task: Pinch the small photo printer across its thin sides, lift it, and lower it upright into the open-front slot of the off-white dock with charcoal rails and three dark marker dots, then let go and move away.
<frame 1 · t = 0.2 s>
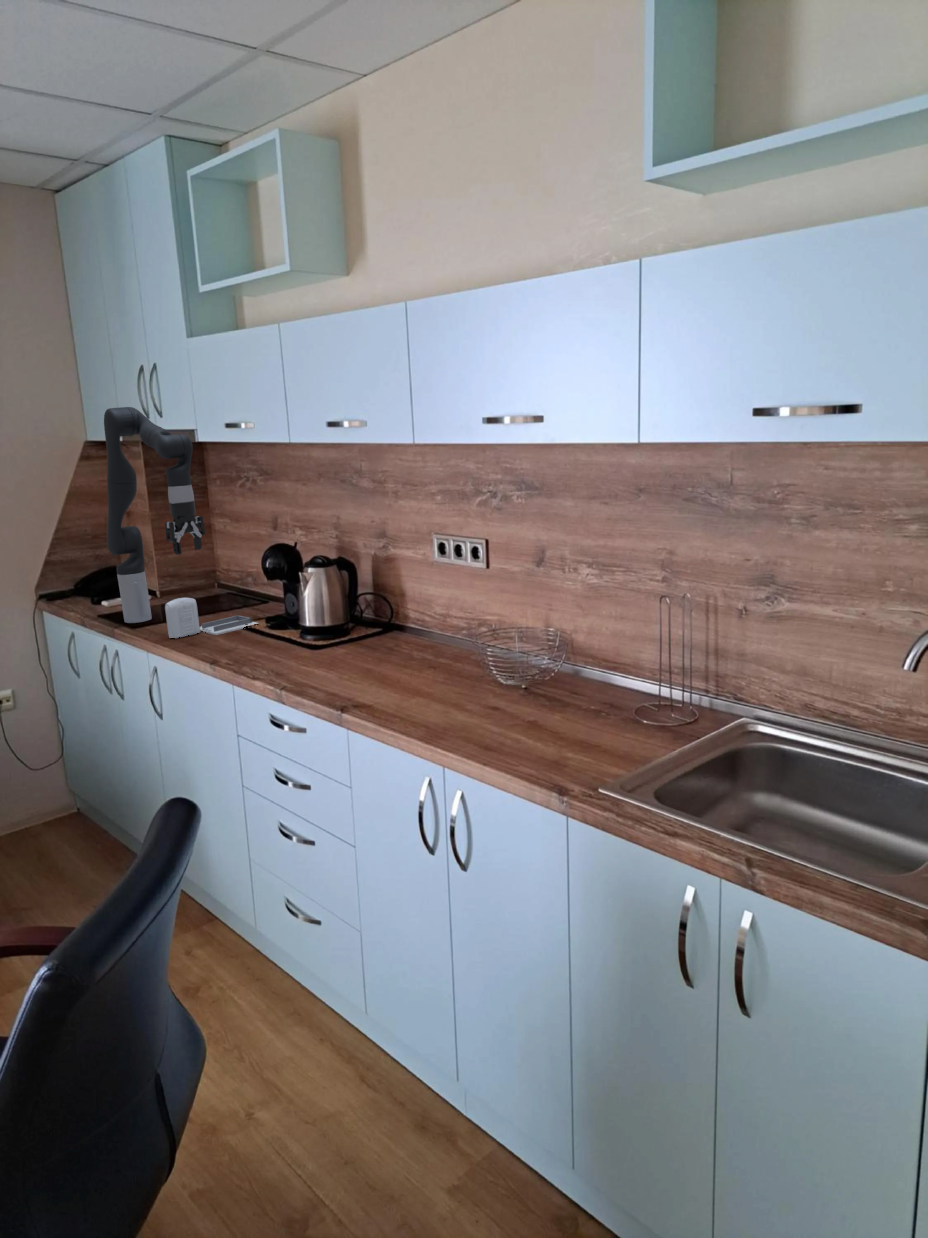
hand: (188, 551, 282), 27 cm above the worktop, tool pointing down, fingers open, 8 cm apart
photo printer: (185, 636, 290), on the worktop
dock: (226, 627, 298), on the worktop
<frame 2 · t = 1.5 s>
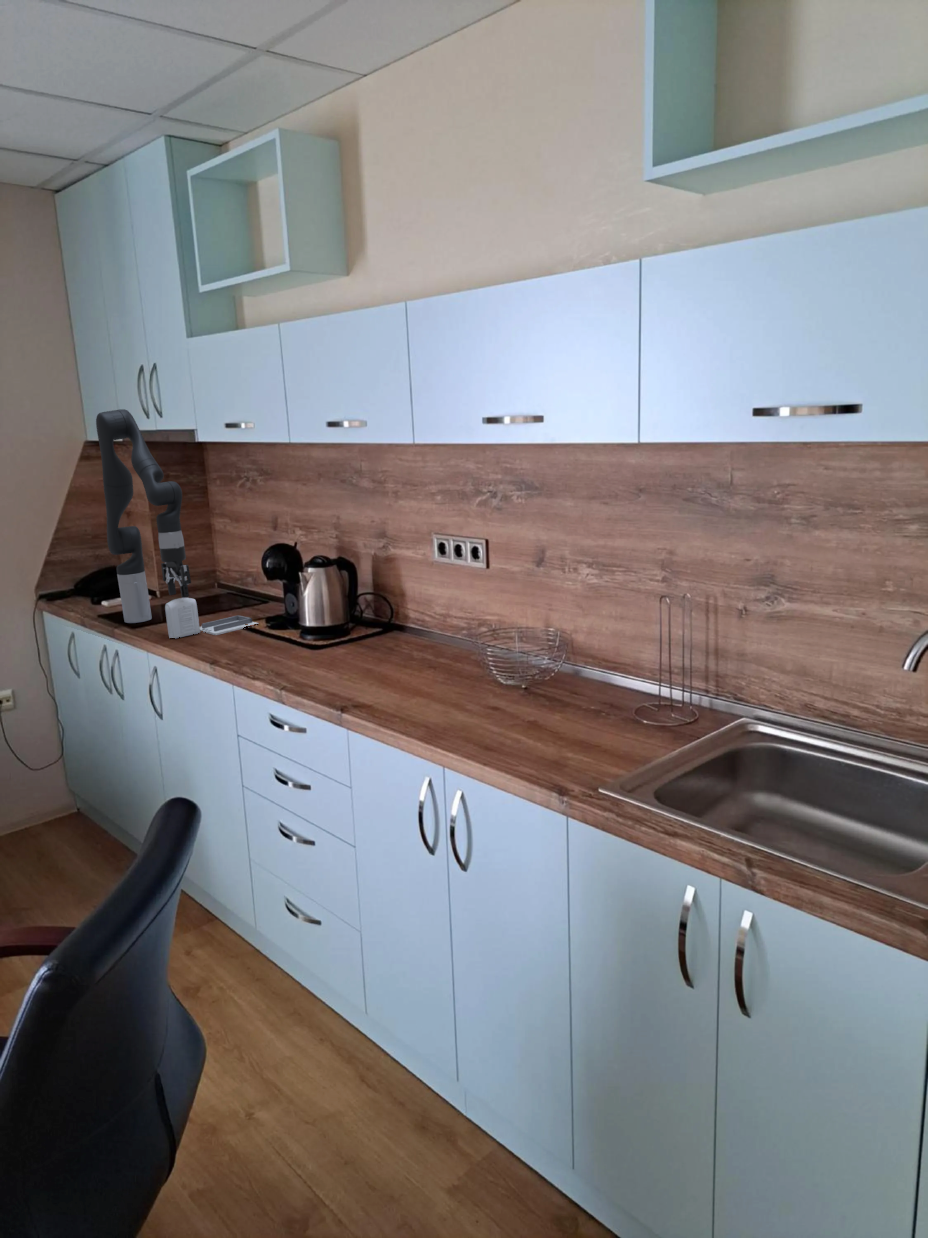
hand: (179, 596, 287), 13 cm above the worktop, tool pointing down, fingers open, 8 cm apart
nothing on the worktop moved.
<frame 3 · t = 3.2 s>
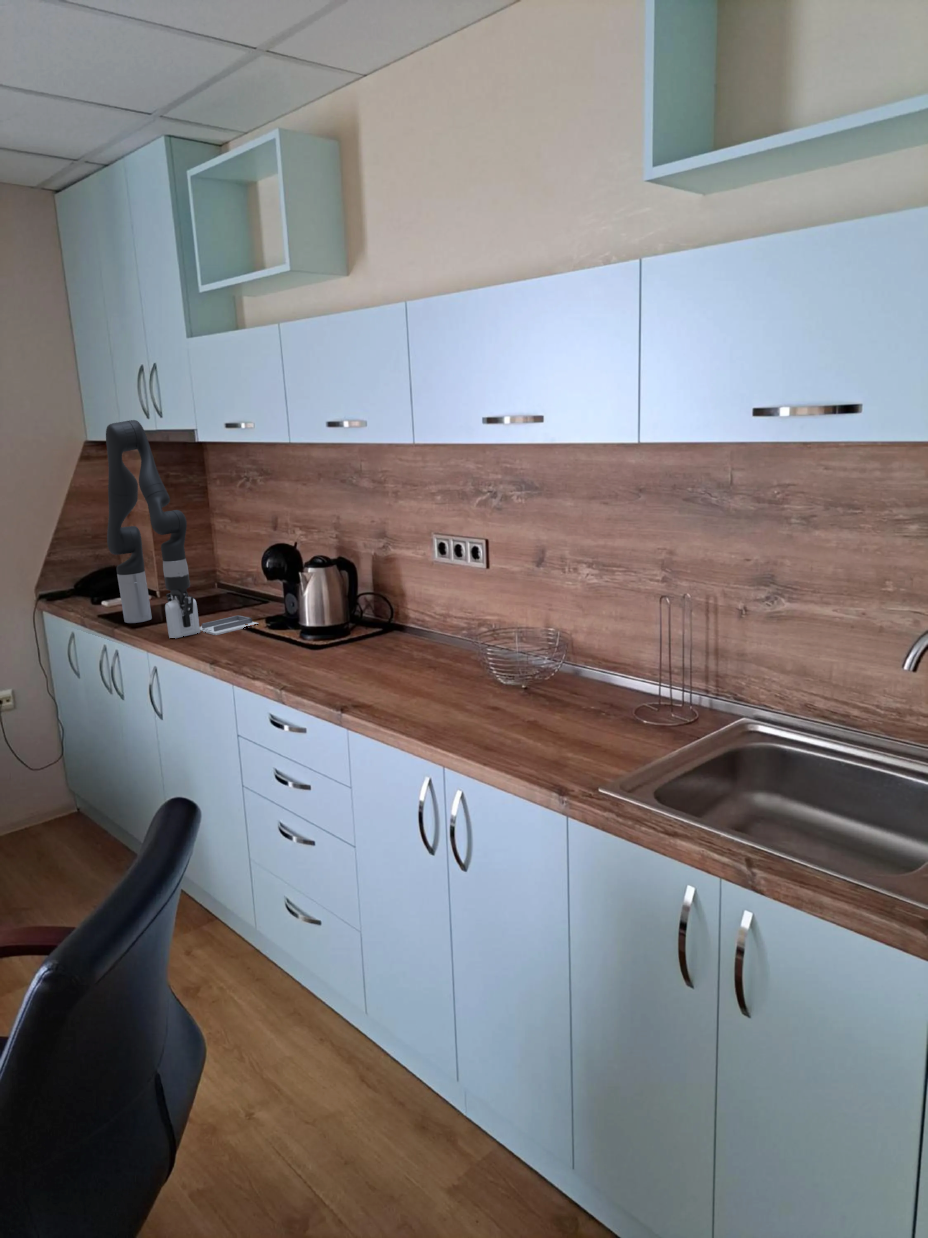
hand: (183, 625, 290), 3 cm above the worktop, tool pointing down, fingers closed on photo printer, 4 cm apart
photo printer: (185, 636, 290), on the worktop, touching gripper
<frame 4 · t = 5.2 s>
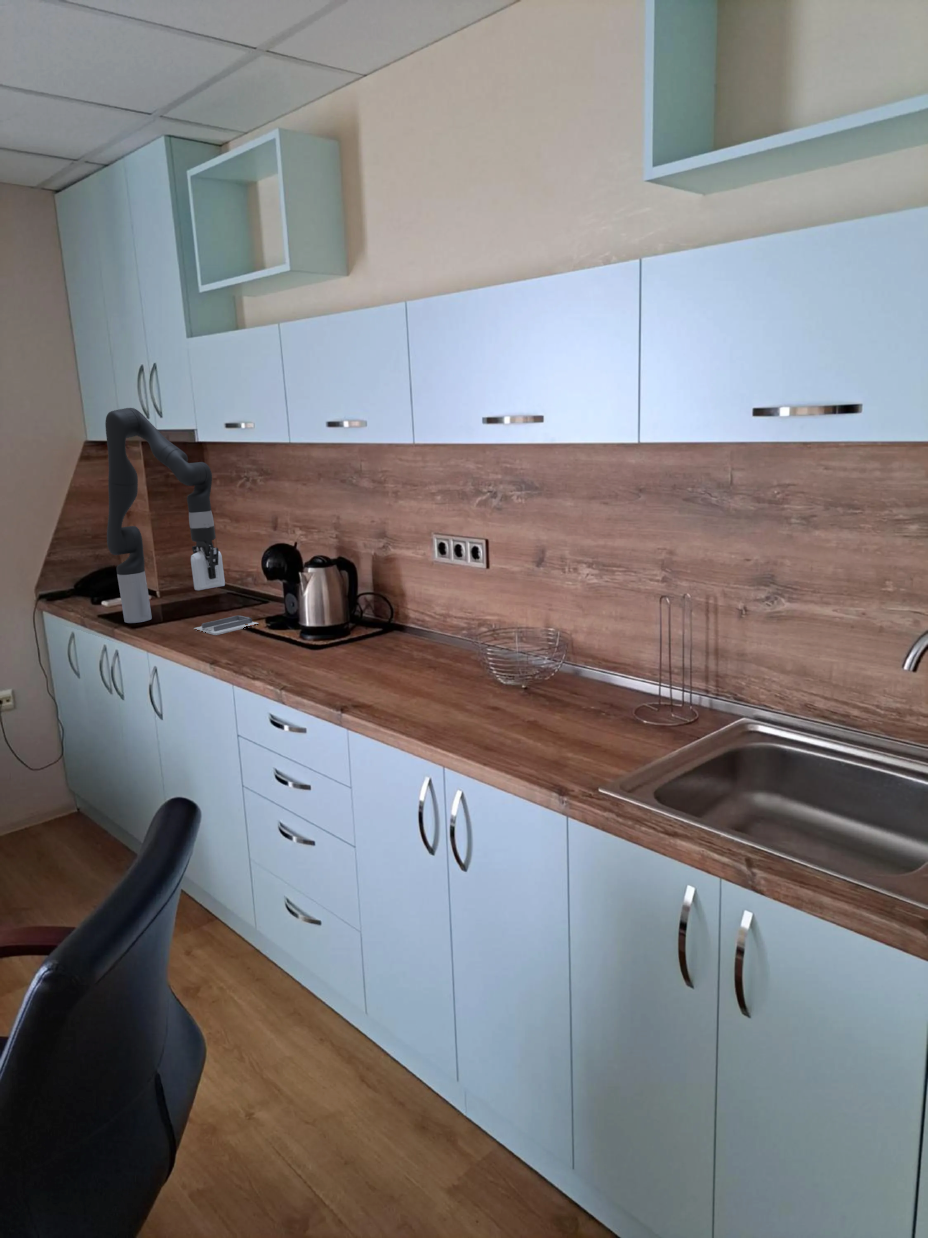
hand: (208, 577, 292), 17 cm above the worktop, tool pointing down, fingers closed on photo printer, 4 cm apart
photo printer: (210, 588, 293), point 14 cm above the worktop, touching gripper
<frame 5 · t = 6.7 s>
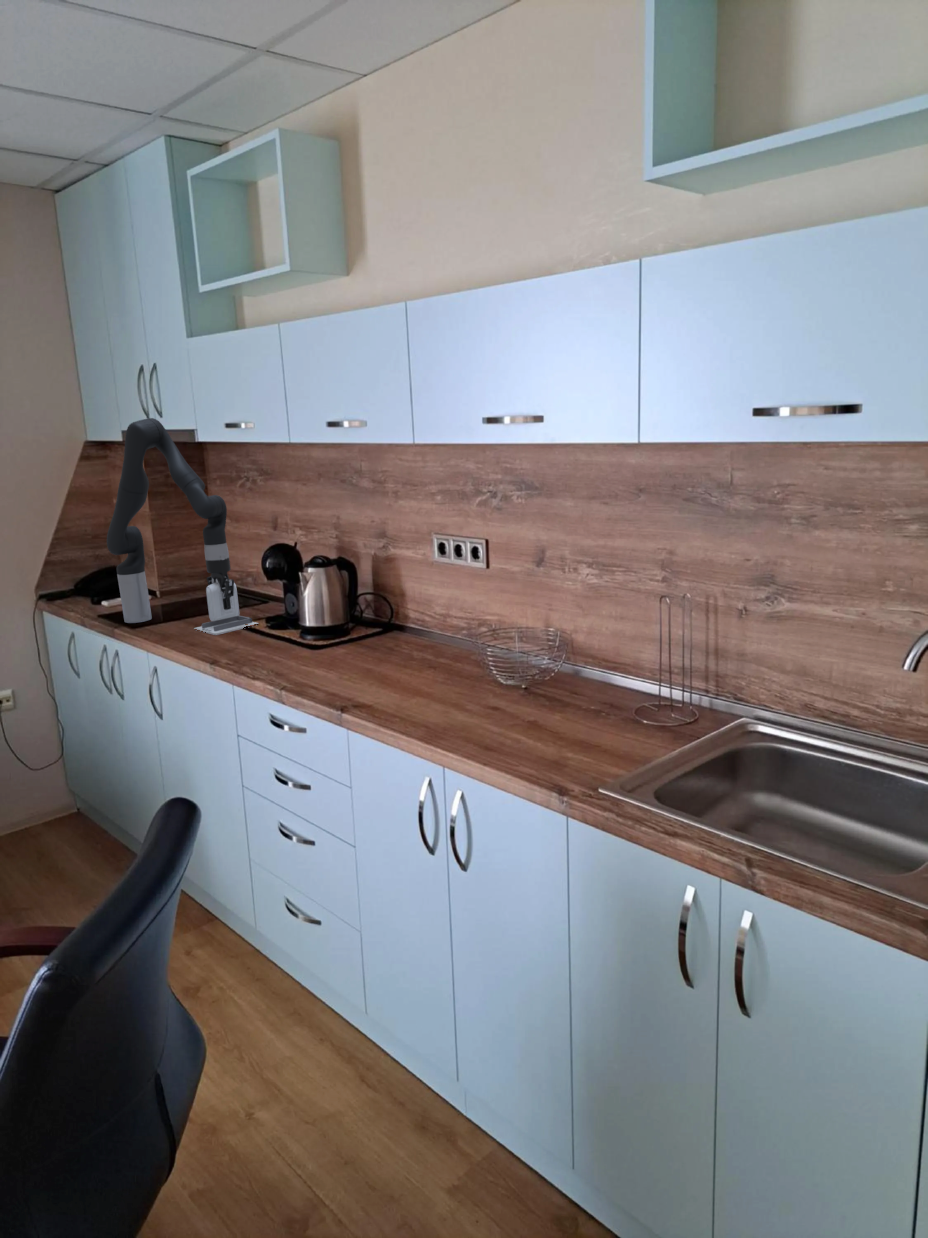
hand: (223, 608, 297), 7 cm above the worktop, tool pointing down, fingers closed on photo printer, 4 cm apart
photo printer: (225, 618, 298), point 3 cm above the worktop, touching gripper
when the fingers open (5 cm above the worktop, at t = 7.7 s): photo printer drops 1 cm, resting on dock.
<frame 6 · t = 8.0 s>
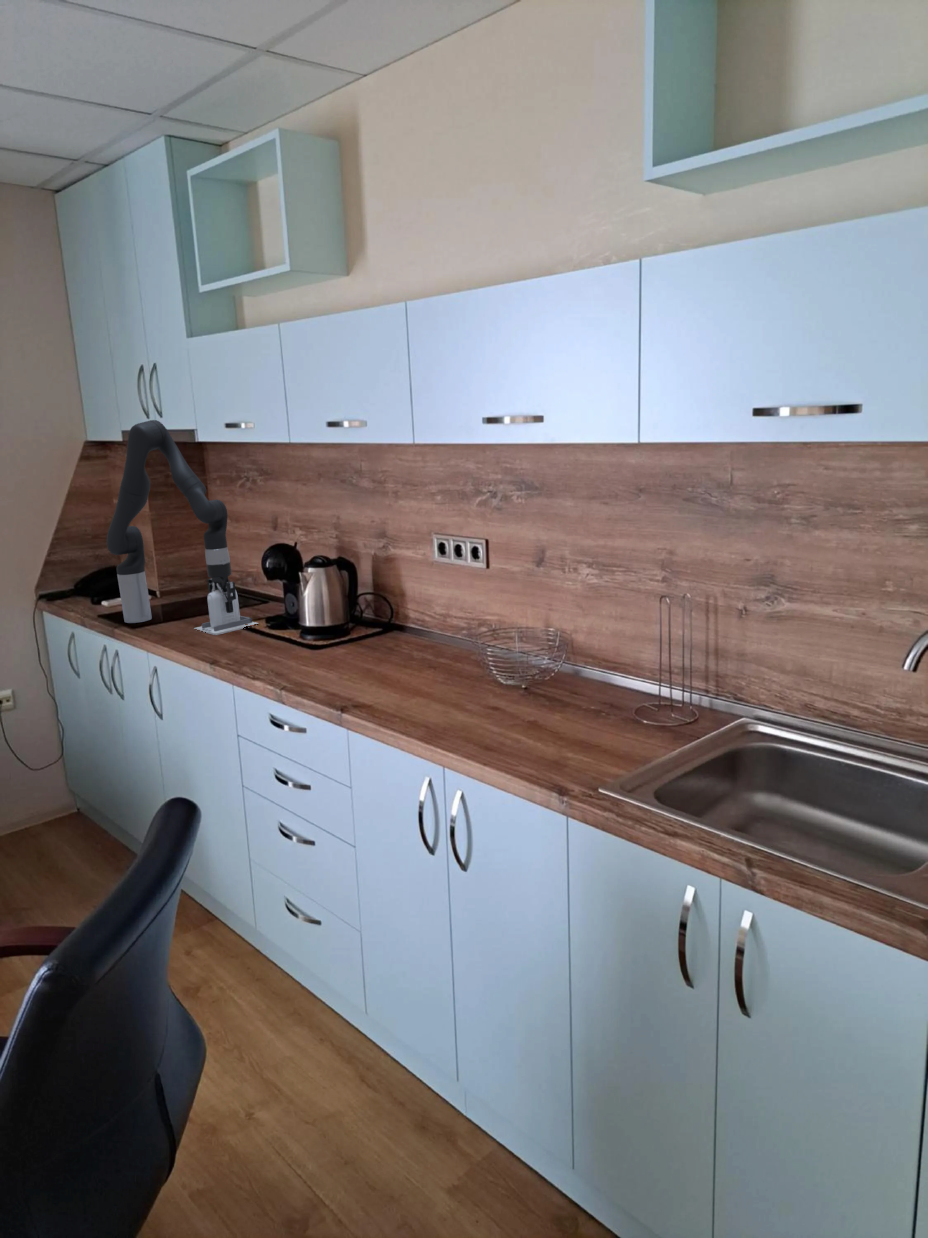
hand: (224, 611, 297), 6 cm above the worktop, tool pointing down, fingers open, 6 cm apart
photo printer: (226, 626, 298), resting on dock
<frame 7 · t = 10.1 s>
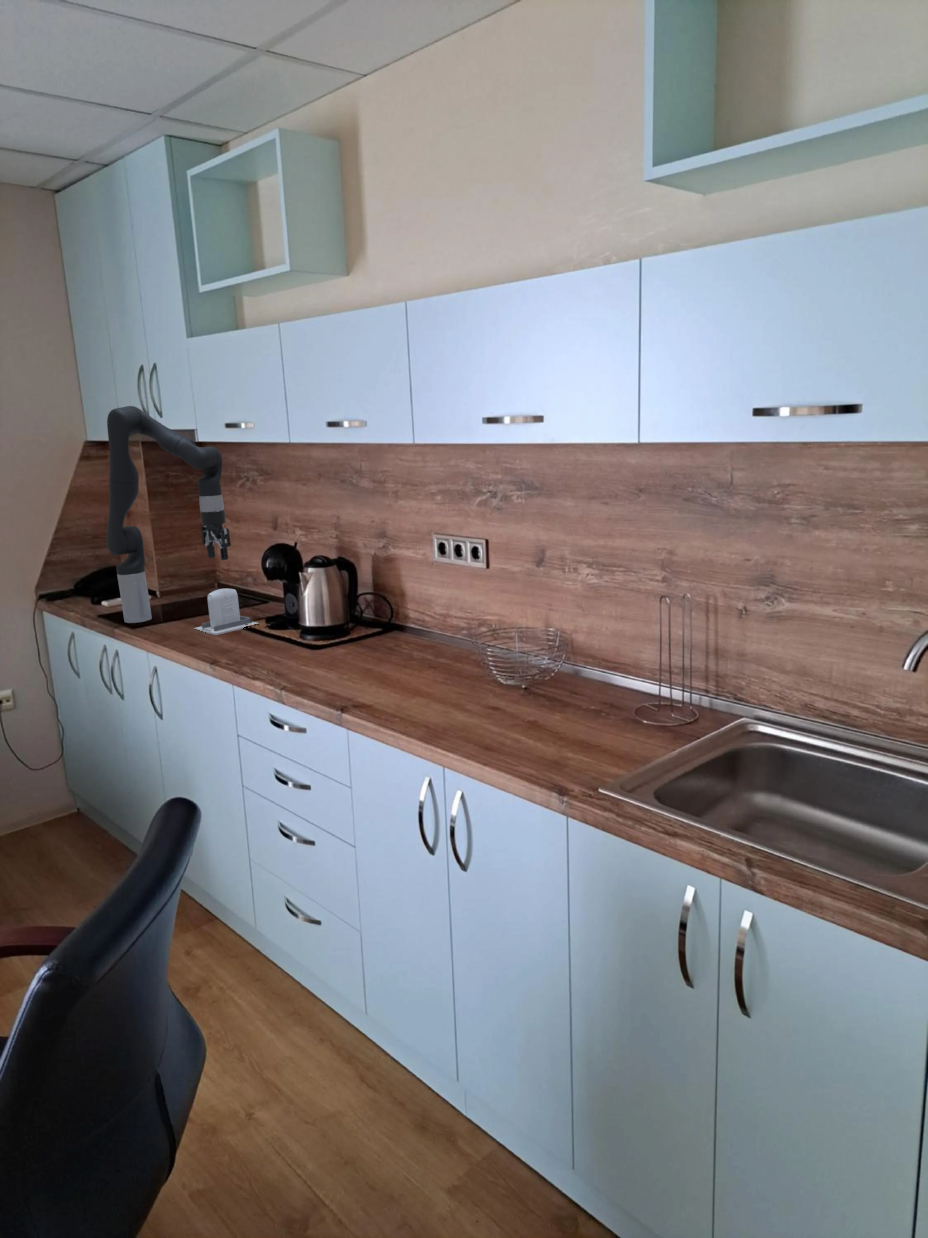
hand: (218, 558, 295), 23 cm above the worktop, tool pointing down, fingers open, 8 cm apart
nothing on the worktop moved.
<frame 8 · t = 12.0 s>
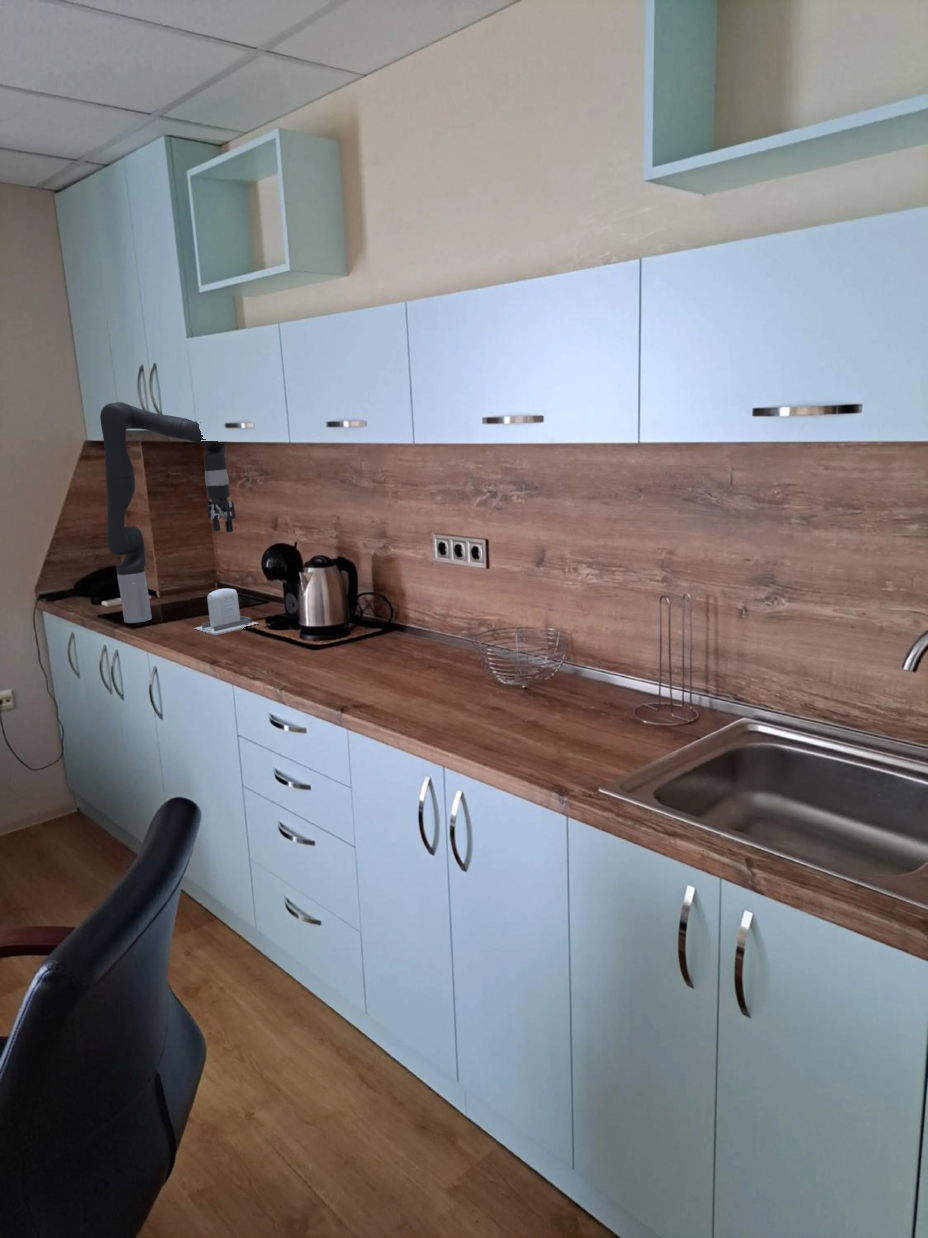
hand: (223, 531, 307), 30 cm above the worktop, tool pointing down, fingers open, 8 cm apart
nothing on the worktop moved.
at the end: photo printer 0.3 cm off-centre on the dock, point 0.4 cm above the dock's base; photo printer tilted 0°; the gripper is holding nothing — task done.
